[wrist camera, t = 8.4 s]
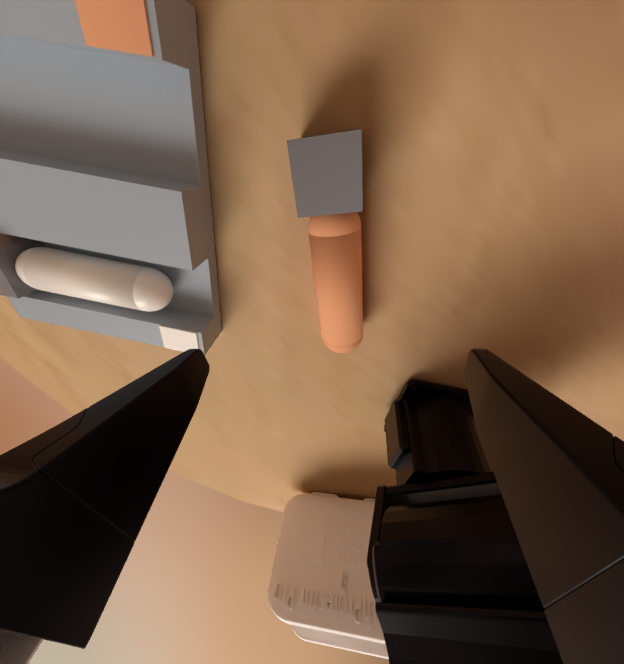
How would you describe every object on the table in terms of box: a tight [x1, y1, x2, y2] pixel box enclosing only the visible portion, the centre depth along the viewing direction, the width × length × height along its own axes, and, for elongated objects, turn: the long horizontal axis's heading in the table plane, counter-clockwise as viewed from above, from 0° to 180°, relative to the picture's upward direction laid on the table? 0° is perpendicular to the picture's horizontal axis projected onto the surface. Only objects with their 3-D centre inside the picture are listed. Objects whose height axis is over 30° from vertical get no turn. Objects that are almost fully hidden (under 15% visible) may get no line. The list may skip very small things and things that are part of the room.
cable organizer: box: [267, 492, 389, 659], centre depth 31 cm, size 15×11×12 cm
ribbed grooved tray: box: [0, 0, 222, 355], centre depth 15 cm, size 13×16×3 cm
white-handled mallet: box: [0, 233, 173, 312], centre depth 16 cm, size 12×3×3 cm, turn 82°
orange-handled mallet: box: [287, 129, 363, 353], centre depth 15 cm, size 12×3×3 cm, turn 7°
